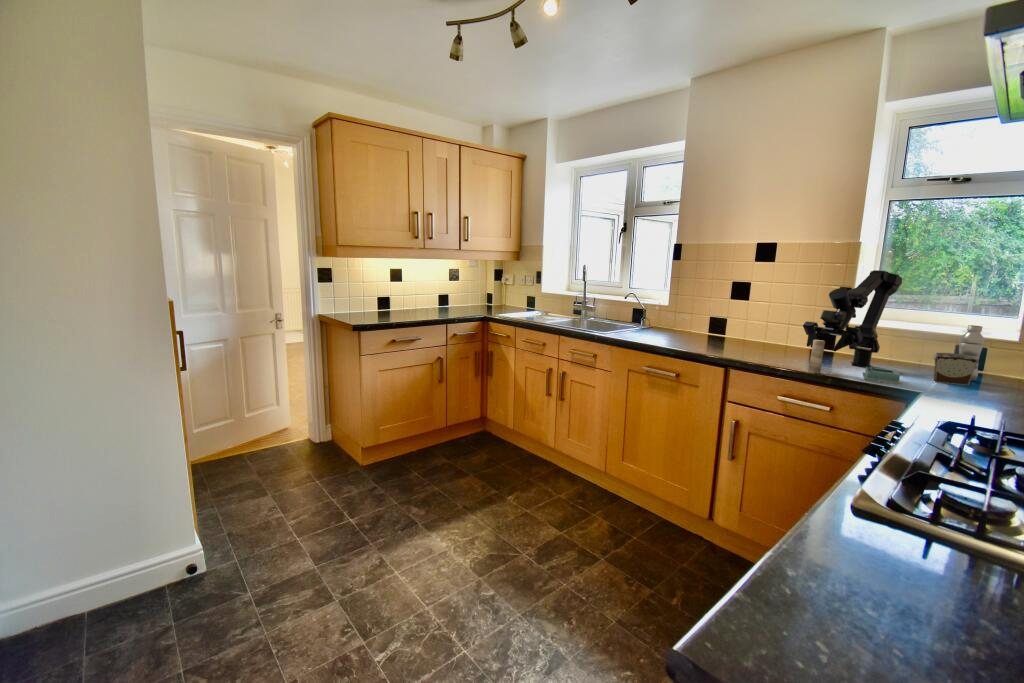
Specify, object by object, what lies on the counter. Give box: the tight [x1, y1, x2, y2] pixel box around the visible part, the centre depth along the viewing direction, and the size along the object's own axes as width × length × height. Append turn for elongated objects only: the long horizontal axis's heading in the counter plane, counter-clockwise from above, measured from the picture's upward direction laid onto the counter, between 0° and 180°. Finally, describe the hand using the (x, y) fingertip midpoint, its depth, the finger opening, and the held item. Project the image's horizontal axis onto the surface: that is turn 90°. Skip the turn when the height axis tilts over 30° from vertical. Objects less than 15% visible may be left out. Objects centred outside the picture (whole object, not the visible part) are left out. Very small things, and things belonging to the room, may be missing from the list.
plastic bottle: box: [958, 324, 986, 382], centre depth 166 cm, size 6×7×20 cm
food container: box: [932, 352, 980, 386], centre depth 164 cm, size 12×6×10 cm, turn 71°
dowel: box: [808, 339, 826, 375], centre depth 170 cm, size 4×4×12 cm
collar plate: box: [862, 366, 902, 385], centre depth 163 cm, size 10×10×3 cm
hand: (820, 348), depth 170 cm, fingers open, 9 cm apart
